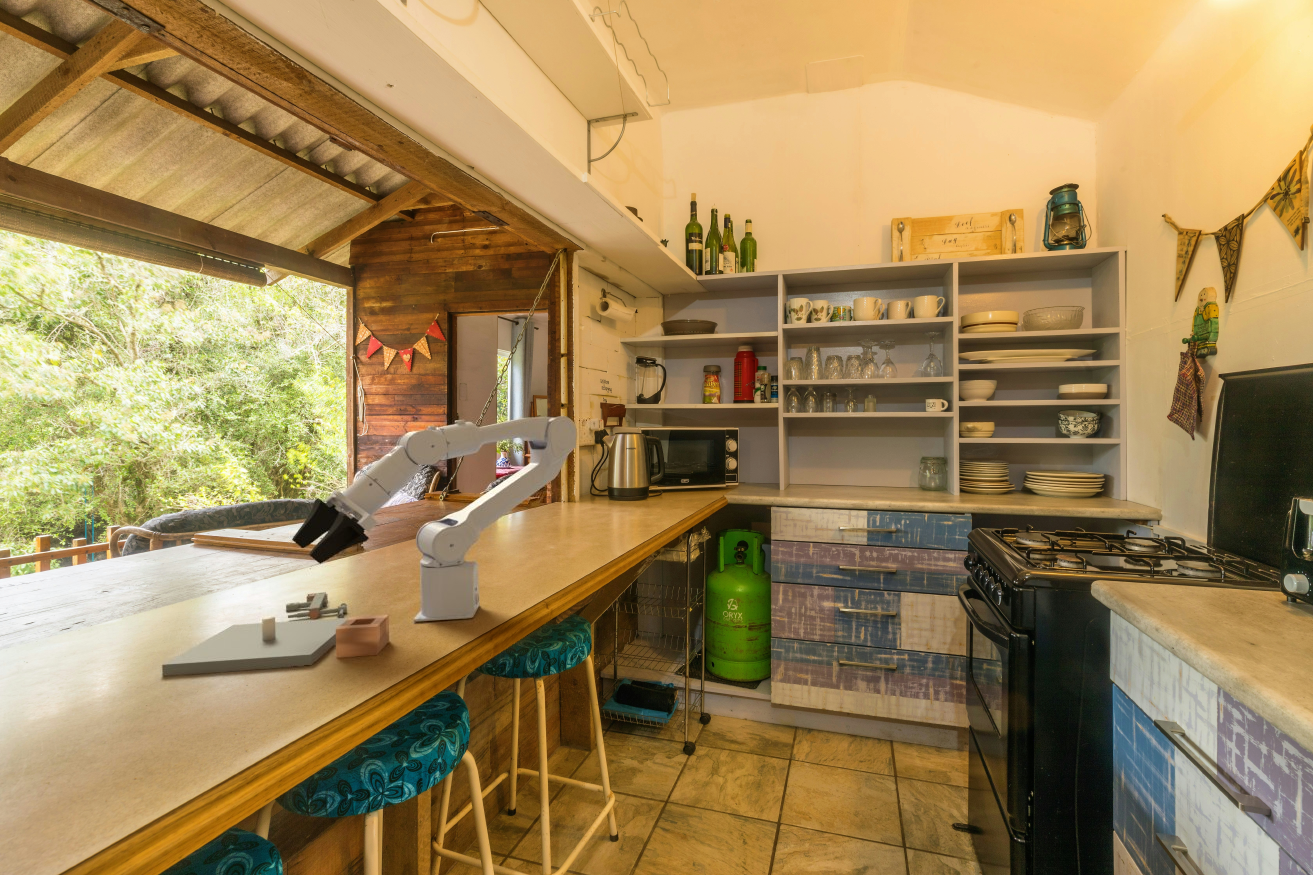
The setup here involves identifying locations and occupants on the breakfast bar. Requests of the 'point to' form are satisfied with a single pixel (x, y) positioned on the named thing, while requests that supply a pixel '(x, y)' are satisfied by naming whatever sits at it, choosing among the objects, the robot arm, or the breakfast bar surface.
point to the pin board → (258, 647)
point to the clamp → (315, 607)
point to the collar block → (362, 636)
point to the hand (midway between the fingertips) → (305, 551)
